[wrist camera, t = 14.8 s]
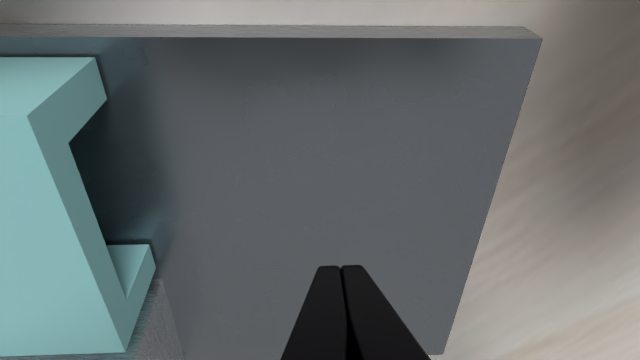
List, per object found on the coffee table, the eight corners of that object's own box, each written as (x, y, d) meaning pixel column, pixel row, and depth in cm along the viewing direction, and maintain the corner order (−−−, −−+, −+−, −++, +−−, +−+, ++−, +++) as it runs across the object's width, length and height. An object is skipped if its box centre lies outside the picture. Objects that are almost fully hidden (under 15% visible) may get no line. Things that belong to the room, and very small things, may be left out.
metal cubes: (523, 26, 13) (608, 78, 9) (435, 332, 21) (463, 418, 18) (-180, 23, 12) (-378, 80, 8) (25, 345, 20) (-30, 440, 17)
